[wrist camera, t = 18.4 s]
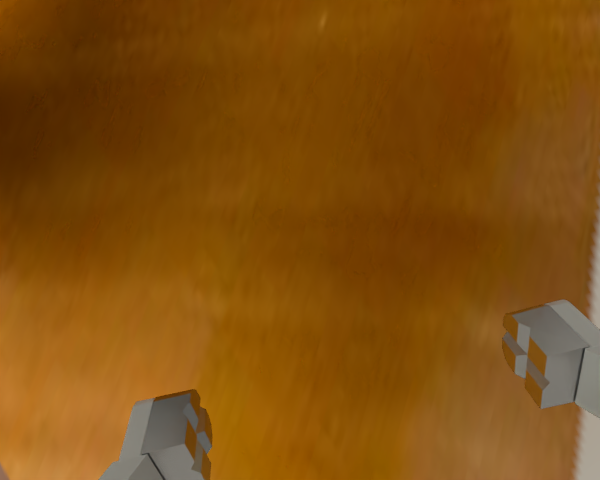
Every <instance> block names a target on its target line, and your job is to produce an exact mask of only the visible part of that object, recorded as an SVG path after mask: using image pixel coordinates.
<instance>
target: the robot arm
mask: <svg viewBox="0 0 600 480" xmlns="http://www.w3.org/2000/svg"><path fill="white" fill-rule="evenodd" d="M503 326H504V327H505V328H506V330H507V331H508V332H507V333H506V334H505V335H504V337H503V338H502V348H503V352H504V355H505V359H506V361H507V363H508V365H509V366H510V368H511V369H512V371H513V372H514V373H515V374H516V375H518V376H520V377H522V378H524V379H525V389H526V390H527V391H528V393H529V394H530V395H531V397H532V398H533V399H534V401H535V402H536V404H537V405H538V406H539V408H540V409H543V408H547V407H552V406H557V405H562V404H566V403H571V402H575V404H577V405H578V406H580V407H582V408H583V409H585V410H587V411H588V412H590V413H592V414H593V415H595V416H597V417H598V418H600V329H598V328H597V327H596V326H595V325H594V324H593V323H592V322H591V321H590V320H589V319H588V318H586V317H585V316H584V315H583V314H582V313H581V312H580V311H579V310H578V309H577V308H576V307H574V306H573V305H572V304H571V303H570V302H569V301H567V300H564V299H562V300H558V301H554V302H550V303H546V304H544V305H538V306H534V307H530V308H526V309H522V310H518V311H514V312H510V313H506V314H505V316H504V319H503ZM211 447H212V428H211V422H210V418H209V415H208V413H207V411H206V409H204V408H202V407H200V396H199V394H198V393H197V391H196V390H195V389H192V390H187V391H182V392H178V393H173V394H168V395H164V396H159V397H156V398H151V399H147V400H142V401H137V402H136V403H135V405H134V406H133V408H132V412H131V415H130V419H129V423H128V427H127V431H126V435H125V439H124V442H123V446H122V450H121V454H120V458H119V461H116V462H113V463H112V464H111V465H110V466H109V468H108V469H107V470H106V471H105V472H104V474H103V475H102V476H101V477H100V478H99V480H210V471H211V462H210V460H209V458H208V456H207V453H208V452H209V450H210V449H211Z"/></svg>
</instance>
